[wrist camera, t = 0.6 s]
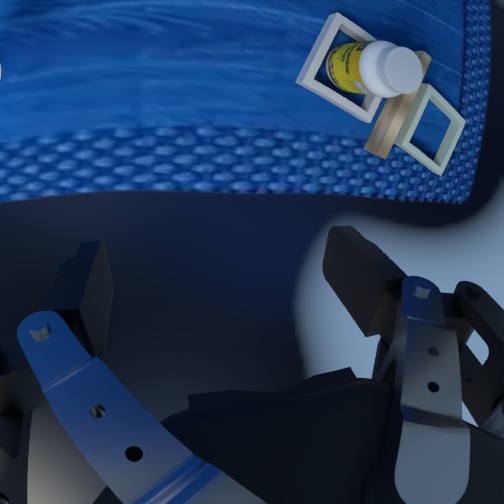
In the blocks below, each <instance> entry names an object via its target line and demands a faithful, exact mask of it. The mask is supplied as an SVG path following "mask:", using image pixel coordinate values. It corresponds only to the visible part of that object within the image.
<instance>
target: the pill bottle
mask: <svg viewBox="0 0 504 504" xmlns="http://www.w3.org/2000/svg"><path fill="white" fill-rule="evenodd" d="M326 70H327V74H328V76H329V78H330V80H331V81H332V82H333V84H334V85H335V86H337V87H338V88H339V89H341V90H343V91H347V92H353V93H360V94H366V95H372V96H378V97H384V98H391V97H395V96H398V95H399V94H401V93H402V94H409V93H412V92H414V91H415V90H417V88H418V87H419V86H420V84H421V81H422V76H423V71H422V65H421V62H420V60H419V58H418V57H417V55H416V54H415V53H414V52H413V51H412V50H410V49H408V48H406V47H398V46H396V45H395V44H393V43H391V42H388V41H381V40H378V41H366V42H355V43H347V44H342V45H339V46H337V47H335V48H334V49H333V50H332V51H331V52H330V53H329V55H328V58H327V61H326Z"/></svg>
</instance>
